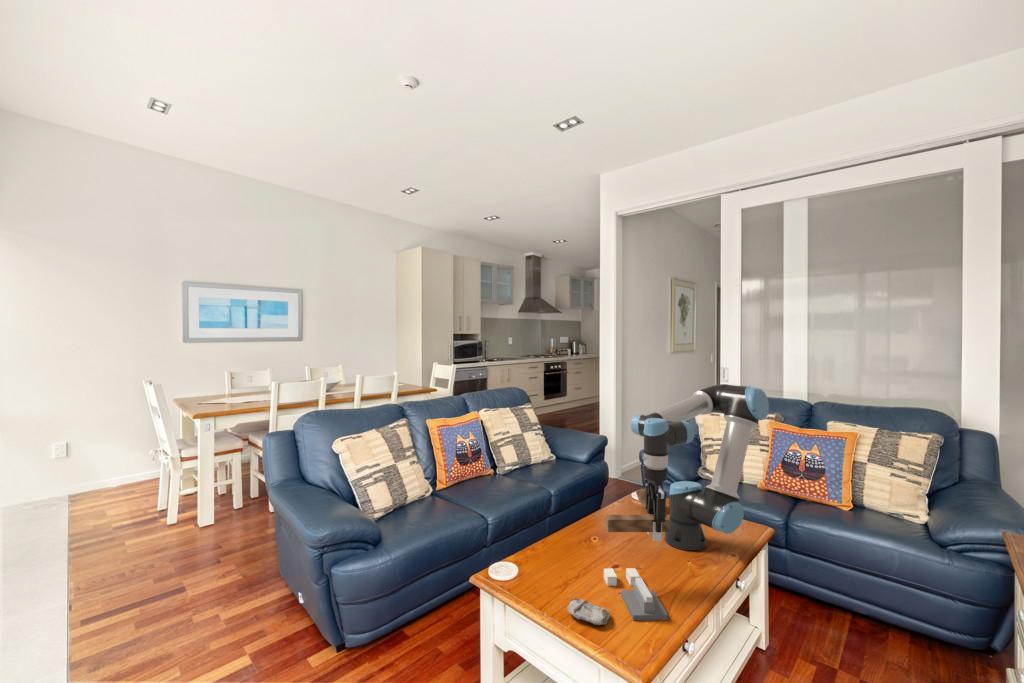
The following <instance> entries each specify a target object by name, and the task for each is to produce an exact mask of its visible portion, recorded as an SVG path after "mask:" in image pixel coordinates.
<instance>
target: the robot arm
mask: <svg viewBox="0 0 1024 683" xmlns="http://www.w3.org/2000/svg"><path fill="white" fill-rule="evenodd" d="M769 410H770V403H769V399H768V396H767V394H766V393H765V392H764V391H763V389H761V388H758V387H753V386H750V385H749V386H745V385H744V386H743V385H735V384H726V383H720V384H719V383H718V384H715V385H714V384H713V385H711V386H708V387H705V388H701V389H699V390H697V391H694V392H693V394H692V395H691V396H689V397H687V398H684V399H683V400H680V401H677V402H675V403H672V404H671V405H668V406H665V407H663V408H661V409H659V410H656V411H654V412H651V413H649V414H647V415H645V414H635V415H634V416H633V417H632V419H631V421H630V424H629V425H630V429H631V431H632V433H633V434H635V435H638V436H640V437H643V456H642V460H643V465H644V466H643V468H642V469H643V478H644V485H645V487H644V489H645V506H644V509H645V510H646V512H647V515H654V520H652V522H653V532H647V535H648V536H652V542H660V543H661V542H663V540H662V539H663V538H664V541H665V543H666V544H668V545H669V546H671V547H673V548H675V549H678V550H682V551H687V550H690V551H689V552H692V551H691V550H699V551H701V550H700V549H702V550H704V549H705V548H706V547H707V540H706V539H707V538H706V535H705V532H704V529H703V527H702V525H703V526H705V527H708V528H710V529H712V530H715V531H717V532H721V533H722V534H731V533H734V532H735V531H736V530H738V529H739V528H740V526H741V525H742V523H743V519H744V516H745V512H744V506H743V505H742V504H741V503H740V500H741V498H740V496H739V494H738V492H737V491H738V488H739V483H740V480H741V475H742V471H743V467H744V464H745V460H746V459H745V458H746V454H747V450H748V447H749V446H748V445H749V442H750V438H751V434H752V430H753V429H754V428H756V427H758V424H759V422H760V421H763V420H765V419H766V418H767V417H768V415H769ZM712 413H718V414H723V418H724V420H725V421H726V423H725V429H724V433H723V436H722V440H721V443H720V448H719V453H718V455H717V459H716V462H715V467H714V471H713V476H712V479H711V483H709V484H708V485H706V486H705V488H704V490H703V486H702V484H701V483H699V482H695V481H689V480H683V481H682V480H681V481H675V482H672V483H671V484H670V485H669V486H670V487H669V493H668V495H669V497H668V498H669V500H668V504H669V505H668V506H669V508H668V510H669V513H668V514H669V515H668V518H669V520H670V532H662V522H665V515H666V506H667V503H666V500H667V492H664V485H663V483H664V482H667V480H668V474H669V473H668V467H669V447H670V448H671V447H675V446H682V445H687V444H690V443H691V442H693V440H694V438H695V429H694V427H693V425H692V424H691V423H689V422H687V421H688V420H691V419H693V418H696V417H698V416H700V415H708V414H712ZM663 533H664V536H663V535H662V534H663ZM705 546H706V547H705ZM704 547H705V548H704ZM703 548H704V549H703Z"/></svg>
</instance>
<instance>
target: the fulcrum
mask: <svg viewBox="0 0 1024 683" xmlns="http://www.w3.org/2000/svg"><path fill="white" fill-rule="evenodd" d="M632 588H633V589H632V590H626V589H625V590H620V595H621V598H622V601H623V603H624V605H625V606H626V609H627V611H628V613H629V615H630V617H631V619H632V621H669V614H668V612H667V611H666V609H665V607H664V605H663V604H662V603H661V601H660V599H659V598H658V596H657V594H656V593H655V591H654V589H653V590H652V589H649V588H648V587H647V585H646V584H645V582H644V579H643V578H642V577H640V578H635V583H633V586H632Z"/></svg>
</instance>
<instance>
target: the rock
mask: <svg viewBox="0 0 1024 683" xmlns="http://www.w3.org/2000/svg"><path fill="white" fill-rule="evenodd" d="M635 493H636V496H637V500H638V501H639V502H640V503H641V505H642V506H644V507H645V488H641V489H638V490H635Z"/></svg>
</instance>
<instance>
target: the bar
mask: <svg viewBox="0 0 1024 683" xmlns="http://www.w3.org/2000/svg"><path fill="white" fill-rule="evenodd" d="M652 520H654V515H648V514H604V527H605V530H606V531H607V533H648V532H653V522H652ZM665 532H670V520H669V516H667V515H666V514H665V522H662V533H665Z"/></svg>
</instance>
